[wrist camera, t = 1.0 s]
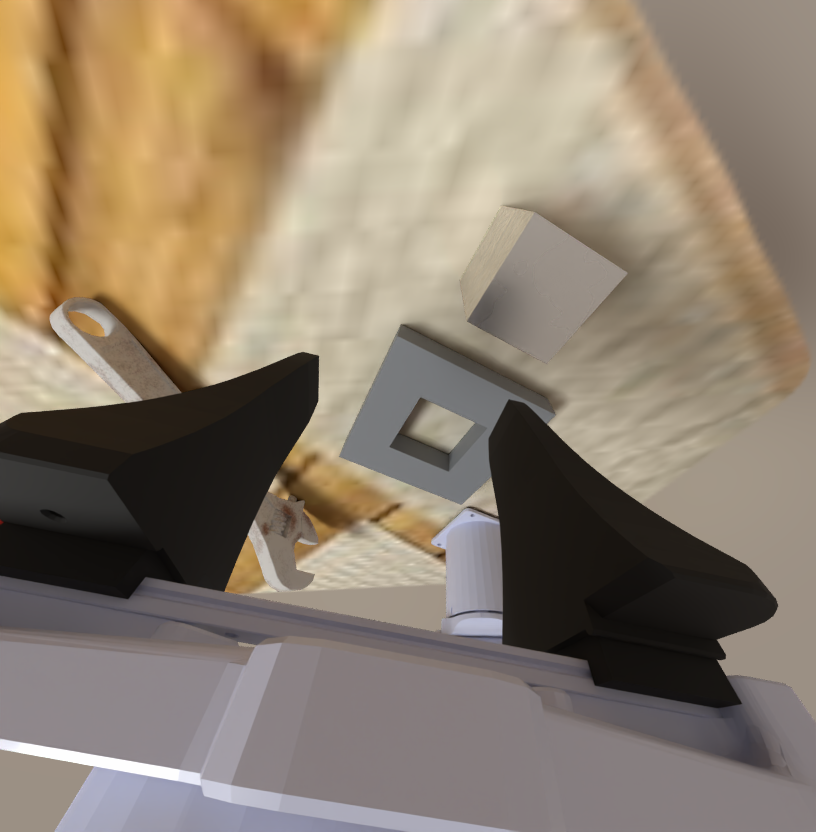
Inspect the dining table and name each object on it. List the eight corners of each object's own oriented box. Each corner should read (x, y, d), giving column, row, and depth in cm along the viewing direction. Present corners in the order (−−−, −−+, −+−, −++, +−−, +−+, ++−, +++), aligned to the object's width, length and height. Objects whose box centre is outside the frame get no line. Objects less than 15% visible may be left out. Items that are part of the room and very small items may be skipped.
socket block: (547, 398, 21) (555, 414, 20) (460, 487, 28) (461, 504, 27) (401, 324, 19) (397, 335, 18) (345, 440, 26) (339, 456, 24)
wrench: (134, 287, 23) (333, 533, 35) (120, 297, 23) (321, 535, 36) (-6, 308, 16) (303, 604, 28) (-20, 321, 16) (289, 605, 29)
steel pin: (562, 245, 16) (628, 272, 10) (515, 311, 18) (546, 364, 12) (501, 205, 15) (534, 211, 9) (459, 280, 17) (466, 321, 12)
